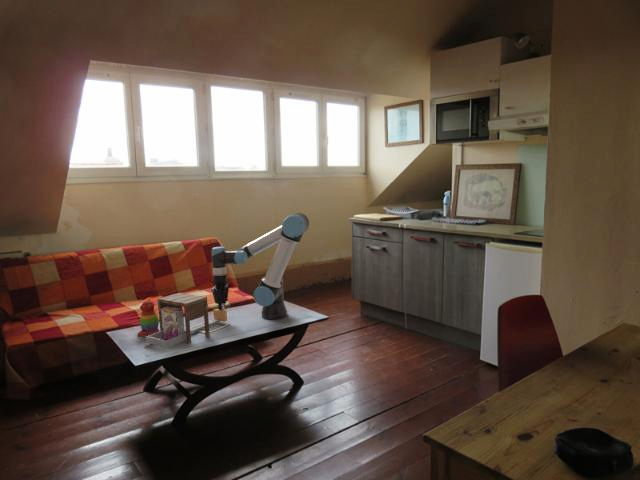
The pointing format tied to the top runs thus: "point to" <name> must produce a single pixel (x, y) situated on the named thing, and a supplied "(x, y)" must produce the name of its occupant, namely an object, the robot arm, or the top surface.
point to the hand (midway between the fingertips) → (222, 314)
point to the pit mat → (211, 327)
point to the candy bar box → (172, 322)
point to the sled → (154, 338)
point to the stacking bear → (148, 319)
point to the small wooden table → (186, 309)
